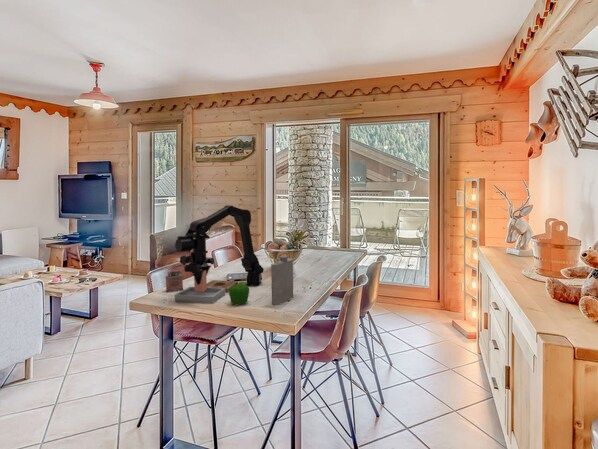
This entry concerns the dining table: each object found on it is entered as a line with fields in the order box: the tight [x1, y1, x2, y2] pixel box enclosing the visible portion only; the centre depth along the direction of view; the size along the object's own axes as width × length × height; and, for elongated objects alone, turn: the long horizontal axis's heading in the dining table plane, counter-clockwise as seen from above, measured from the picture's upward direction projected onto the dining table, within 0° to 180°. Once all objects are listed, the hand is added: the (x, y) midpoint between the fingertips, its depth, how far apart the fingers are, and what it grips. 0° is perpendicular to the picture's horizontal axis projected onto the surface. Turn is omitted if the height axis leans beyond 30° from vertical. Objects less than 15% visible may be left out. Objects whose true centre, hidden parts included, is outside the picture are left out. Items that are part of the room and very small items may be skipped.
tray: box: [174, 286, 226, 305], centre depth 165 cm, size 18×14×3 cm
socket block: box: [207, 279, 239, 294], centre depth 181 cm, size 14×14×2 cm
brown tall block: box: [193, 270, 208, 292], centre depth 164 cm, size 4×4×9 cm
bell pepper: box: [228, 280, 250, 306], centre depth 156 cm, size 8×8×10 cm
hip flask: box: [270, 254, 294, 306], centre depth 160 cm, size 16×4×20 cm, turn 152°
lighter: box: [165, 269, 184, 293], centre depth 176 cm, size 8×3×10 cm, turn 118°
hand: (200, 283), depth 164 cm, fingers closed on brown tall block, 4 cm apart
